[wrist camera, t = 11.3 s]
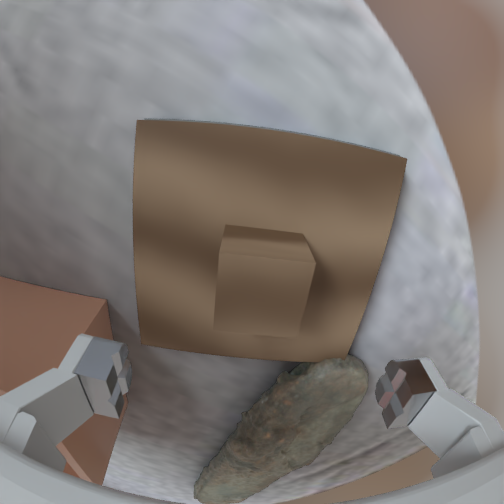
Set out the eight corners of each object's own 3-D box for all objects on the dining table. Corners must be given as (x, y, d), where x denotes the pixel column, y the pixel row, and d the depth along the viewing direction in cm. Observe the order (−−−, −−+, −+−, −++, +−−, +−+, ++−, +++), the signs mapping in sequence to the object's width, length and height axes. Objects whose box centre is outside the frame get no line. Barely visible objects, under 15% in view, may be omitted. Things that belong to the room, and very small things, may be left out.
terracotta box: (-5, 274, 18) (-75, 341, 9) (106, 299, 19) (39, 407, 10) (30, 372, 23) (-10, 440, 14) (128, 402, 24) (100, 491, 15)
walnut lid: (143, 120, 14) (106, 120, 10) (399, 156, 15) (443, 170, 11) (145, 334, 20) (126, 381, 15) (340, 353, 20) (356, 399, 16)
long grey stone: (179, 477, 35) (241, 486, 37) (177, 506, 30) (242, 513, 32) (281, 329, 20) (388, 352, 22) (291, 392, 15) (412, 402, 17)
